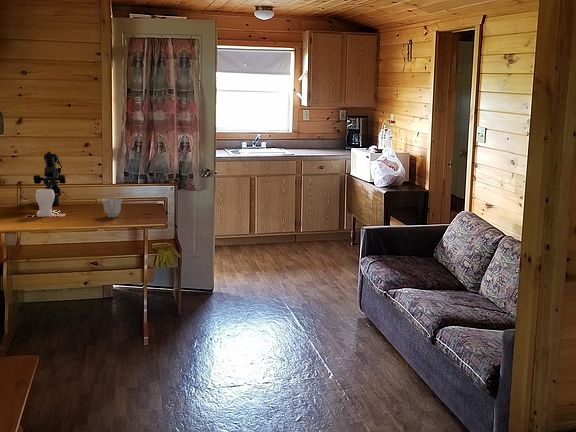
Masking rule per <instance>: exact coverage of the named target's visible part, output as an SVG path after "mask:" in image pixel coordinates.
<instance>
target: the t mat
mask: <svg viewBox="0 0 576 432" xmlns="http://www.w3.org/2000/svg"><path fill="white" fill-rule="evenodd" d="M52 210H53V211H52V212H54V213H57V215H56V214H54V213H53V215H52V216H39V211H40V210H38V211H37V212H36V213H35V214H37V217H36V218H49V217H52V218H54V217H56V216H58V217H59V218H61V217H65V216H66V215H67V214H66V213H61V211H60V210H59V209H55V210H54V209H52ZM57 210H59V211H58V212H59V213H58V212H55V211H57ZM53 216H54V217H53ZM25 218H28V217H27V215H26V216H25ZM31 218H35V217H34V215H33V216H32V217H31Z"/></svg>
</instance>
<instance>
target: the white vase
mask: <svg viewBox="0 0 576 432" xmlns="http://www.w3.org/2000/svg"><path fill="white" fill-rule="evenodd" d="M54 198H55V195H54V191H53V190H52V189H45V188H43V189H42V188H41V189H36V191H35V199H36V203H37V204H38V208H39V210H38V211H39V216H52V215H53V213H52V210H53V206H52V204H53V202H54Z"/></svg>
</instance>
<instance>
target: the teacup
mask: <svg viewBox="0 0 576 432" xmlns="http://www.w3.org/2000/svg"><path fill="white" fill-rule="evenodd" d="M101 201H102V203H103V211H104V213H105V214H106V215H107V217H108V218H116V217H118V215H119V214H120V212H121V207H122V202H123V198H117V197H116V198H114V197H111V198H103V199H101Z"/></svg>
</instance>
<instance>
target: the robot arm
mask: <svg viewBox="0 0 576 432" xmlns="http://www.w3.org/2000/svg"><path fill="white" fill-rule="evenodd" d="M43 161H44V163H45V167H44V168H43V169H44V170H43V171H44V172H43V173H44V176H43V177H42V176H41V174H34V175H33V177H32V178H33V182H34V185H35V184H36V185H37V184H38V185H39V184H42V182H43V185H45V188H44V189H52V190H53V191H54V195H55V198H54V202H53V204H52V207H54V206H55V207H57V206H61V204H60V200H59V199H60V197H61V196H62V193H61V188H60V186H59V184H66V183H67V178H66V175H65V174H62V175H60V173H61V168H62V166H61V164H60V162H61V161H60V157H59V156H58V155H57V153H52V152H51V151H47V153H45V154H43ZM59 161H60V162H59ZM57 164H58V165H60V166H61V168H58V169H57V168H56V167H55V166H56V165H57ZM58 182H59V183H58Z"/></svg>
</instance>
